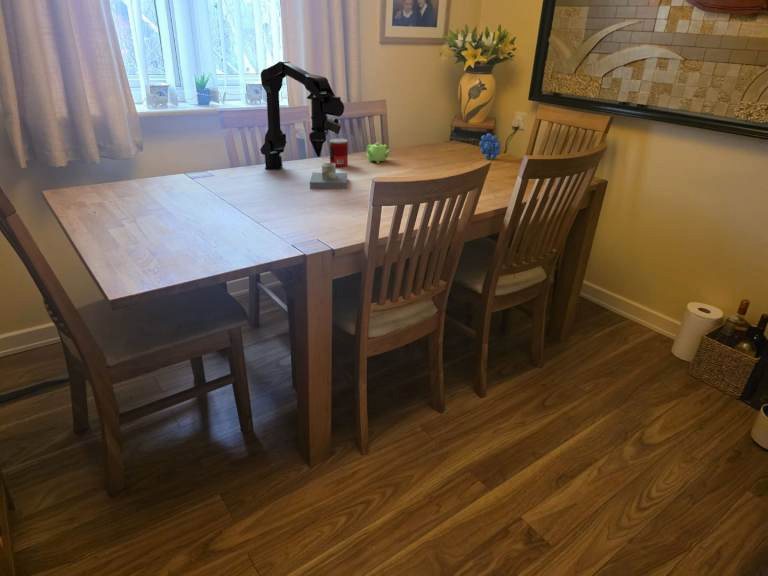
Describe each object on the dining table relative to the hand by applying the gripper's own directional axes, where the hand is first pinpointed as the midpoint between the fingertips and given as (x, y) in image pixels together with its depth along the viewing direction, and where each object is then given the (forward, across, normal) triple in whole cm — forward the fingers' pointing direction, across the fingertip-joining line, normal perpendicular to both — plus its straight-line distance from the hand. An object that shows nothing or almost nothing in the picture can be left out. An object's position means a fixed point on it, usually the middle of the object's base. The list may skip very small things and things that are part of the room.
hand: (319, 153), depth 201 cm
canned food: (+11, +23, -7) cm, 27 cm away
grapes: (+10, +40, -78) cm, 88 cm away
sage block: (+8, -6, -4) cm, 10 cm away
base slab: (+10, -6, -4) cm, 12 cm away
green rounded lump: (+11, +31, -25) cm, 41 cm away
